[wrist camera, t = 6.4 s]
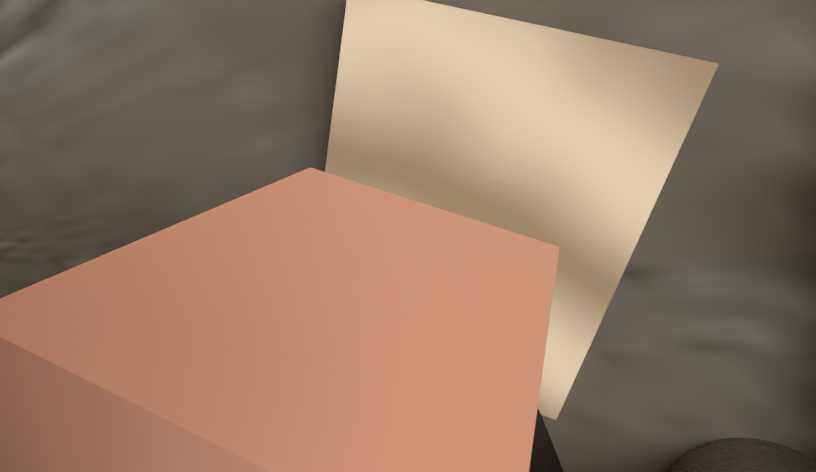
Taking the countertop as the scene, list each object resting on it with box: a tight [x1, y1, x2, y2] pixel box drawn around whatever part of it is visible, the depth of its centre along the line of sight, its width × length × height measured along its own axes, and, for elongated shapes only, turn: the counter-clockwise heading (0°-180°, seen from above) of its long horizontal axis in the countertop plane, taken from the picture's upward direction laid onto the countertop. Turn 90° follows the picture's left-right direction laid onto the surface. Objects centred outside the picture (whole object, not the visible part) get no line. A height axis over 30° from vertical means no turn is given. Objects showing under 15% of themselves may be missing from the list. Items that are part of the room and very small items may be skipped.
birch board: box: [325, 0, 718, 420], centre depth 16 cm, size 12×10×1 cm
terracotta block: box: [0, 168, 559, 472], centre depth 7 cm, size 5×5×6 cm
